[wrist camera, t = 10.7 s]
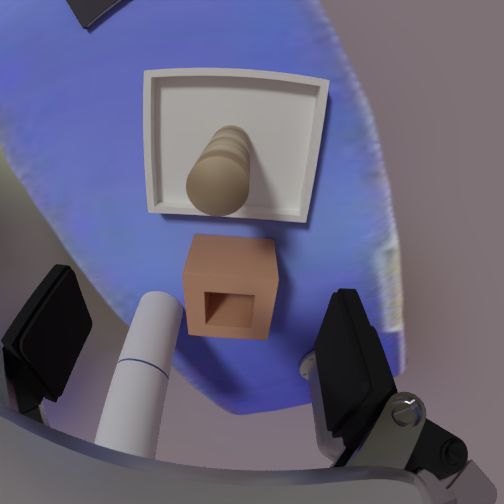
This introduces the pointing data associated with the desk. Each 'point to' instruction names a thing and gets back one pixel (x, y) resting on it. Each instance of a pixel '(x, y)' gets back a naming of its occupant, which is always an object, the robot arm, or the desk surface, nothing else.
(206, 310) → the deep holder
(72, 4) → the notebook
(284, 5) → the desk surface
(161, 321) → the cylindrical container
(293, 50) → the desk surface
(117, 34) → the desk surface
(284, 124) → the tray
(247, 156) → the dowel pin
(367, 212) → the desk surface
